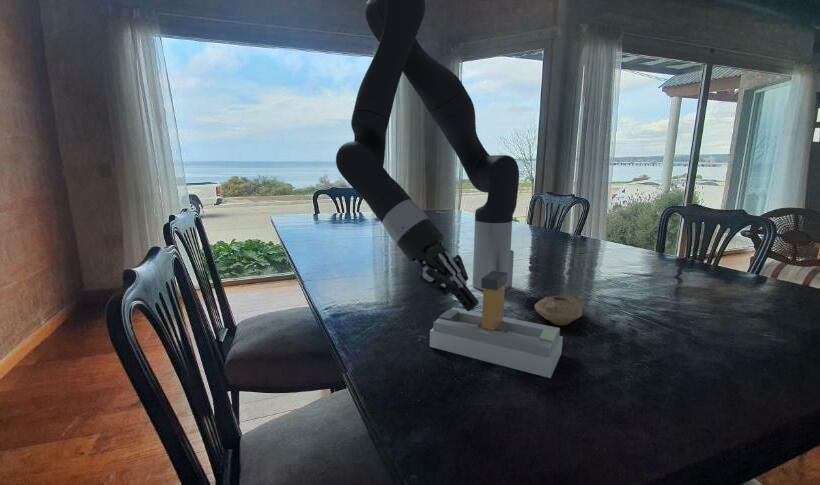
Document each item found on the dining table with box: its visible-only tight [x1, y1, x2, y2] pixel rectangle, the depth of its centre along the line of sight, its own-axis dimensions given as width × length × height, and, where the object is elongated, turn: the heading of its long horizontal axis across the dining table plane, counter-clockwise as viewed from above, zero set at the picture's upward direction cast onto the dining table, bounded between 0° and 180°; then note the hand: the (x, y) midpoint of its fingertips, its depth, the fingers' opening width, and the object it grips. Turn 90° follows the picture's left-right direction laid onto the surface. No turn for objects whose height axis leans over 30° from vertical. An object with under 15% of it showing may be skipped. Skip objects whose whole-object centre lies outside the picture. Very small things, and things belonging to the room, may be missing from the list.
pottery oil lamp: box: [534, 294, 586, 326], centre depth 79 cm, size 9×12×7 cm
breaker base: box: [429, 306, 564, 379], centre depth 66 cm, size 20×9×5 cm, turn 60°
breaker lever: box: [478, 271, 508, 333], centre depth 65 cm, size 4×5×10 cm
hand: (473, 307), depth 67 cm, fingers closed
